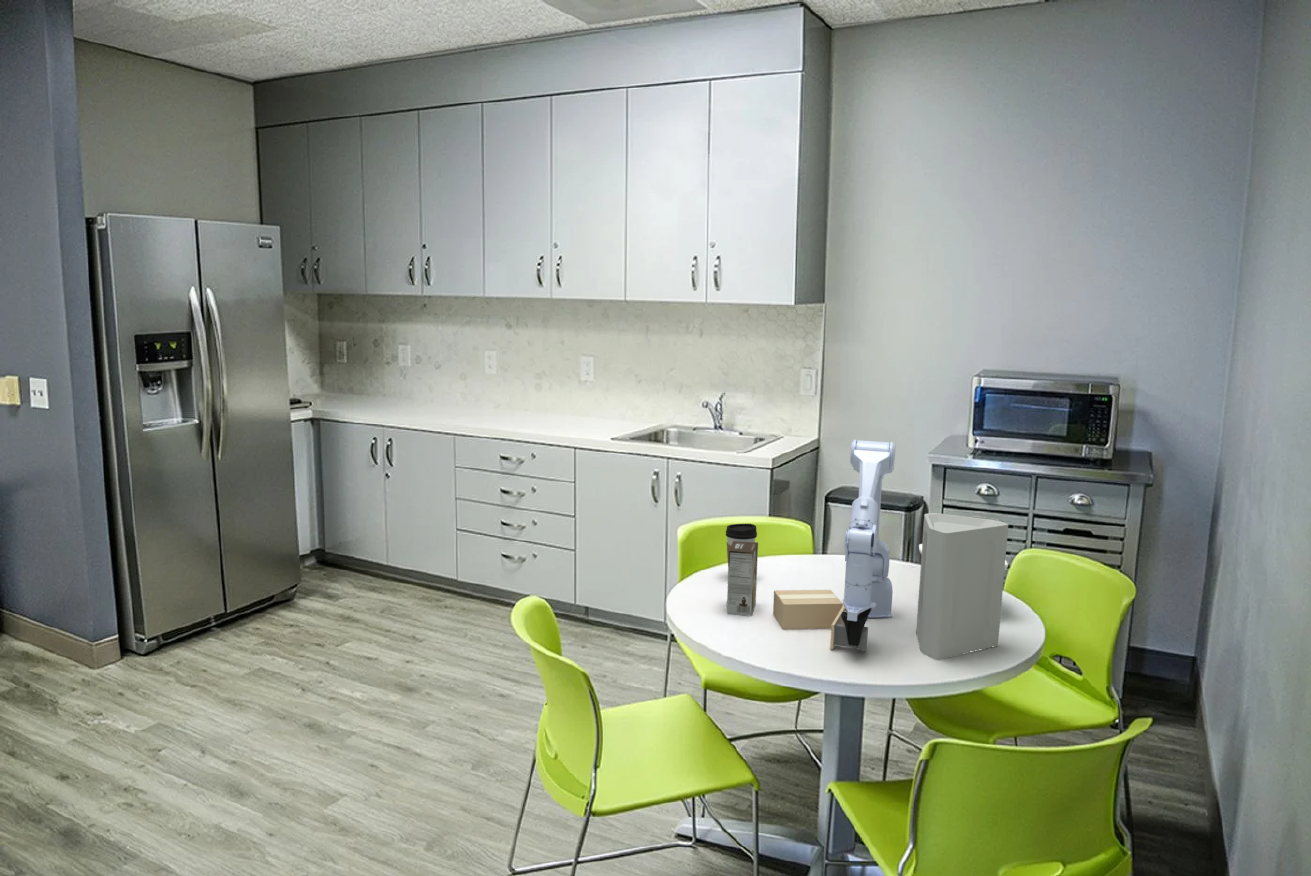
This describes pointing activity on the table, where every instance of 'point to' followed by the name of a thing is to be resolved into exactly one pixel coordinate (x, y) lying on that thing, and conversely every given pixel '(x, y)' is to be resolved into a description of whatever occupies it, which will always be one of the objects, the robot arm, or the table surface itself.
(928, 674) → the table surface
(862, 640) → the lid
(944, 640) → the grey triangular prism
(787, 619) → the carton
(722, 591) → the table surface
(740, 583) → the coffee box
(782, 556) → the table surface
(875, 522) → the robot arm
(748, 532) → the coffee cup
